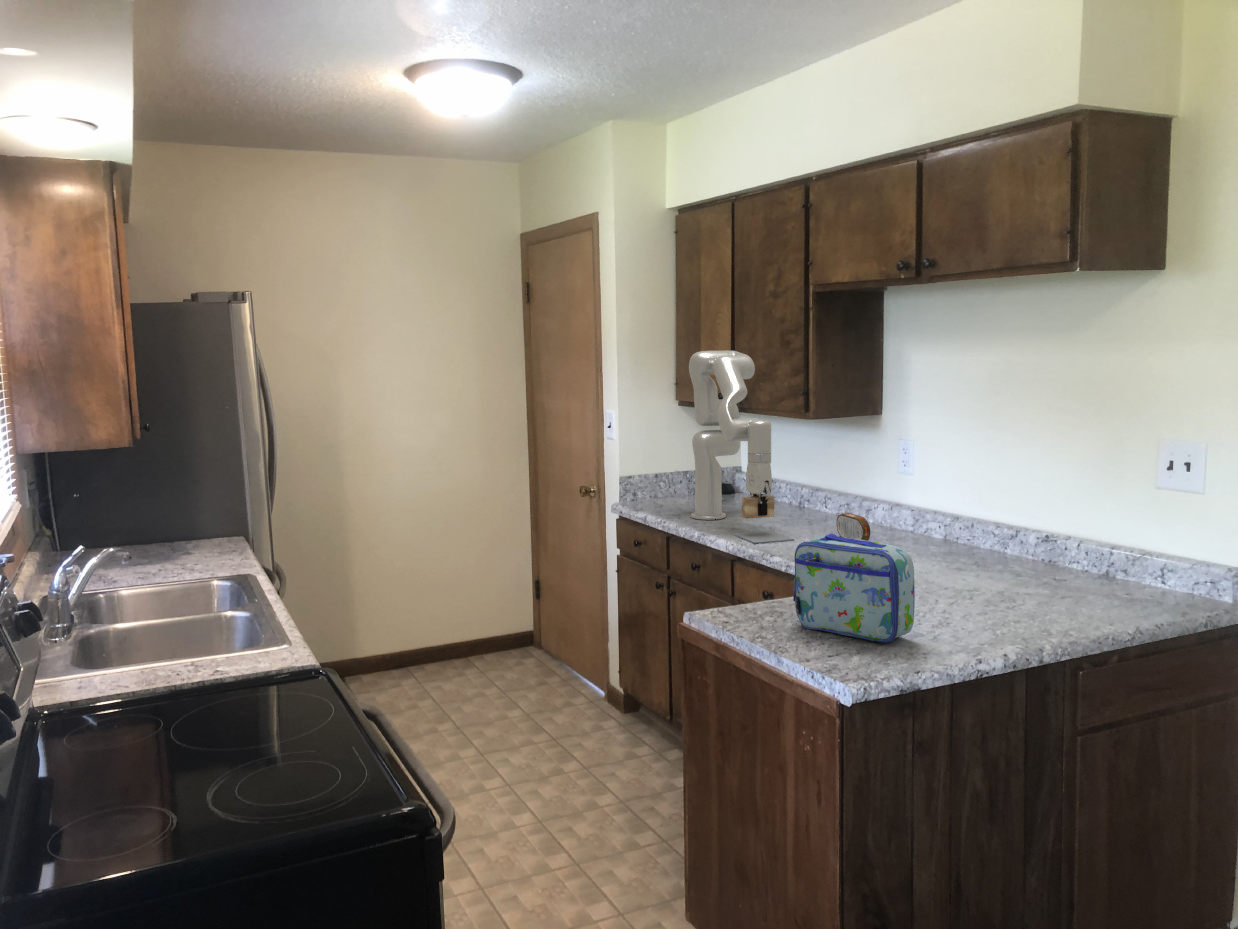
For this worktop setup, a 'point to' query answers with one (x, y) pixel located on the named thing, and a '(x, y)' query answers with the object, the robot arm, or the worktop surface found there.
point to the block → (756, 507)
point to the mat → (764, 537)
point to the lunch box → (854, 588)
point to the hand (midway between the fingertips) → (759, 513)
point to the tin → (853, 526)
